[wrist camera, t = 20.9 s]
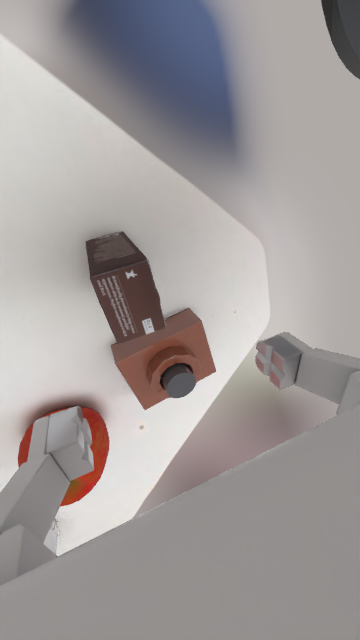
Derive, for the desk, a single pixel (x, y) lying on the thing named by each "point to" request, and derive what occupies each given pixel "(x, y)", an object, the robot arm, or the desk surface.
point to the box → (124, 287)
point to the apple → (98, 447)
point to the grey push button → (178, 380)
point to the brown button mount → (164, 356)
